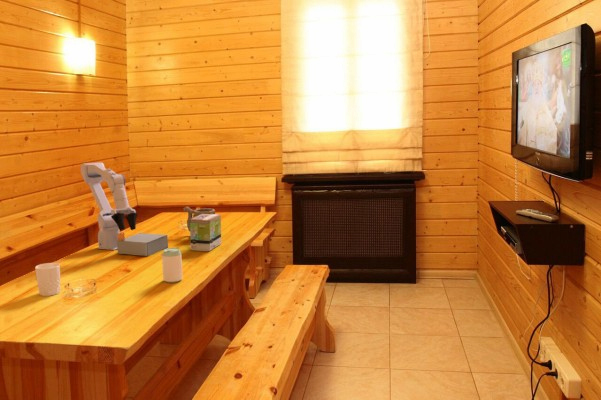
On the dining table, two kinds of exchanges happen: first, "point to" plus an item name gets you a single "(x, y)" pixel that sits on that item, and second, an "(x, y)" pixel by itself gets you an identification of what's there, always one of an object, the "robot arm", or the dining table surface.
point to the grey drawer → (130, 246)
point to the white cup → (48, 278)
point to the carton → (151, 241)
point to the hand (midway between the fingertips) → (128, 229)
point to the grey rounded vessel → (197, 213)
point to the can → (172, 265)
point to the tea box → (205, 232)
